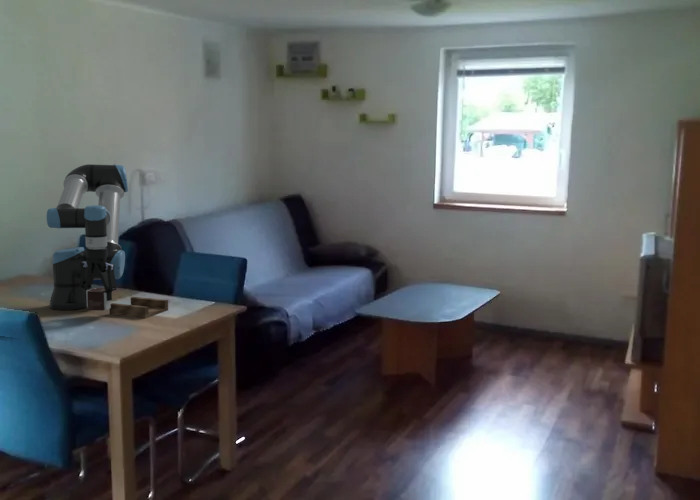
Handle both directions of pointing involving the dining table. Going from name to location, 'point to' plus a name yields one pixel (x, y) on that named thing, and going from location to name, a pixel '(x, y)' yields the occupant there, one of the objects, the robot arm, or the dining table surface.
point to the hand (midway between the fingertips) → (98, 307)
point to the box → (96, 299)
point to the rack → (140, 307)
